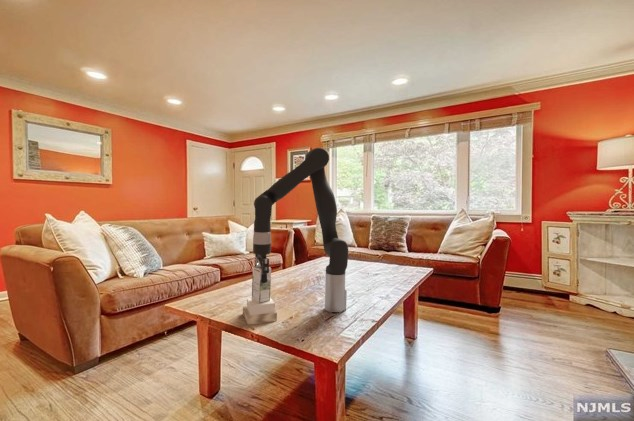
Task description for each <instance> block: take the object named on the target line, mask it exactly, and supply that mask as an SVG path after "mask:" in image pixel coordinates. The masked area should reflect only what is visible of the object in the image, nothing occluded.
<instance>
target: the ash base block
mask: <svg viewBox="0 0 634 421" xmlns="http://www.w3.org/2000/svg"><path fill="white" fill-rule="evenodd" d="M242 315H243V317H244V319H245V322H246V325H247V326H250V325H258V324H262V323H263V324H264V323H270V322H276V321H278V312H277V311H276V310H275V313H267V314H259V315H251V316H250V313H249V311H248V309H247V305H244V306H242ZM257 323H258V324H257Z"/></svg>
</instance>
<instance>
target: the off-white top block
mask: <svg viewBox="0 0 634 421" xmlns="http://www.w3.org/2000/svg"><path fill="white" fill-rule="evenodd" d="M246 306H247V309H248V311H249V313H250V316H251V315H259V314H267V313H275V311H276V308H275V307H276V302H274V299H272V297H271V296H270V301H266V302H263V303H257V302H255V301H253V300H252V296H251V297H247V298H246Z"/></svg>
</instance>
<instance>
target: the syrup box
mask: <svg viewBox="0 0 634 421" xmlns="http://www.w3.org/2000/svg"><path fill="white" fill-rule="evenodd" d="M264 270H265V269H264ZM271 279H272V268H271V267H270V266H269V273H268V274H267V282H266V283H262V282H261V269H259V266H257V267H255V266H252V284H251V297H252V300H253V301H255V302H257V303H263V302H266V301H270V297H271V286H272V285H271V284H272V280H271Z"/></svg>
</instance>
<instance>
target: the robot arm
mask: <svg viewBox="0 0 634 421" xmlns="http://www.w3.org/2000/svg"><path fill="white" fill-rule="evenodd" d="M329 161H330V154H329V152H328V150H326V149H325V148H323V147H315V148H312V149H311V150H309V151H307V153H306V155H305V159H304V160H303V161H302V162H301V163H300V164H299V165H298V166H296V167H295V168H294V169H292V170H291V171H289V172H287V173H286V174H285V175H283V176H282V177H281V178H280V179H278V180H277V181H276V182H274V183H273V184H272V185H271V186H270V187H269V188H268V189H267V190H265V191H264V192H262V193H261V194H260V195H258V196H257V197H256V198H255V199H254V201H253V207H254V222H253V236H252V241H253V242H252V253H253V254H254V255H255V258H254V260H255V261H254V267H257V266H259V269H261V282H262V283H266V282H267V274H268V273H269V267H270V258H267V255H270V254H271V252H272V234H271V229H272V228H271V227H272V225H271V217H272V211H273V210H272V209H273V208H272V207H273V205H274V204H276V203H277V202H278V201H280V200H281V199H283V198H284V197H285V196H287V195H288V194H289V193H290V192H291V191H293V190H295V189H296V187H297V186H299V185H300V184H301V183H302V182H303V181H304V180H306V179H308V177H309V178H310V181H311V186H312V193H313V196H314V202H315V208H316V213H317V216H318V220H319V224H320V229H321V236H322V244H323V250H324V251H323V252H325V254H326V255H327V256H328V257H329V261H328V265H326V267H325V283H324V284H325V288H324V291H325V292H324V310H325V311H326V312H327V313H328V312H329V313H332V312H339V313H343V312H344V311H346V310H347V296H348V292H347V289H346V270H347V267H348V260H349V245H348V243H347V242H346V241H345V240H343V239H340V238H339V235H338V232H337V224H336V223H337V218H338V217H337V215H338V208H337V202H336V198H335V195H334V194H335V193H334V191H333V189H332V187H331V185H330V184H329V182H328V180H327V176H326V169H325V167H326V166H328V163H329ZM264 269H265V270H264ZM345 309H346V310H345ZM343 310H344V311H343ZM342 311H343V312H342Z"/></svg>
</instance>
